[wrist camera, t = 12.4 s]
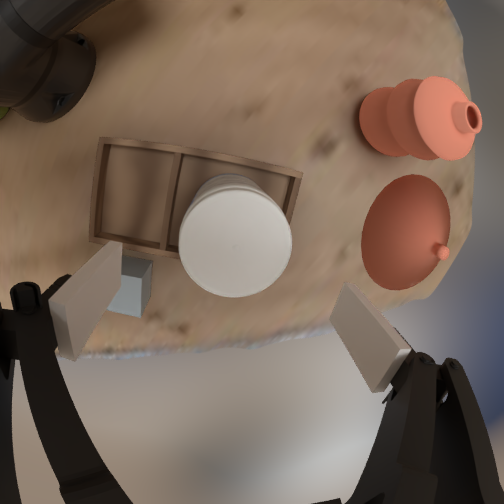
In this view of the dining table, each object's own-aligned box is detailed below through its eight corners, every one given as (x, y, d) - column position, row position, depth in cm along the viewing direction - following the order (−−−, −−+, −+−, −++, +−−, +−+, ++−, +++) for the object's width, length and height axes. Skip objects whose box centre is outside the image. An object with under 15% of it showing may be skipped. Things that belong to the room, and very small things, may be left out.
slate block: (115, 289, 38) (101, 308, 33) (115, 253, 36) (99, 269, 31) (150, 296, 39) (140, 317, 34) (152, 260, 37) (141, 278, 32)
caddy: (98, 234, 35) (88, 241, 32) (109, 137, 31) (99, 136, 27) (271, 266, 39) (275, 276, 36) (296, 170, 35) (303, 172, 32)
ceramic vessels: (454, 258, 43) (518, 300, 26) (375, 309, 45) (431, 378, 27) (412, 80, 31) (498, 64, 13) (305, 113, 32) (378, 82, 15)
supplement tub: (183, 185, 33) (157, 207, 20) (255, 163, 33) (278, 170, 20) (206, 253, 37) (199, 312, 23) (273, 233, 37) (304, 281, 23)
